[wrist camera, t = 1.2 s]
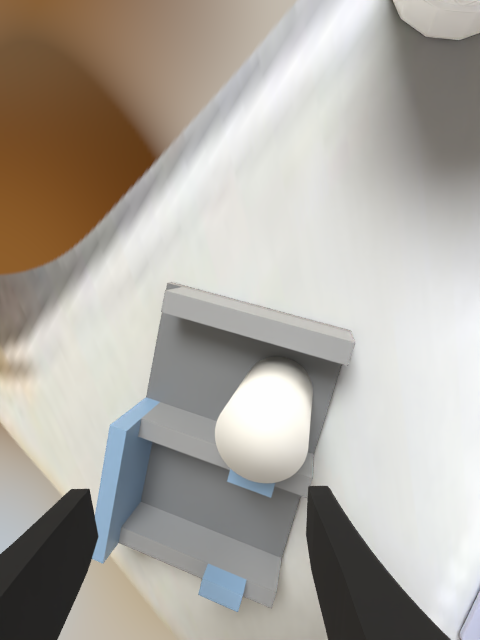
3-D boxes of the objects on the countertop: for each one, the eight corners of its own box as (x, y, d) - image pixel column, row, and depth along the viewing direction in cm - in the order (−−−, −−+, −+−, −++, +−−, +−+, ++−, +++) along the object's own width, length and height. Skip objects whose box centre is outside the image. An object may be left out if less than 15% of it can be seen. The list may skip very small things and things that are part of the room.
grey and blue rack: (350, 330, 20) (358, 350, 15) (278, 565, 23) (267, 637, 19) (171, 282, 22) (132, 287, 17) (129, 505, 25) (88, 557, 21)
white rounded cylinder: (321, 368, 20) (320, 412, 14) (302, 430, 21) (294, 496, 15) (253, 348, 21) (225, 382, 15) (238, 409, 21) (206, 464, 16)
